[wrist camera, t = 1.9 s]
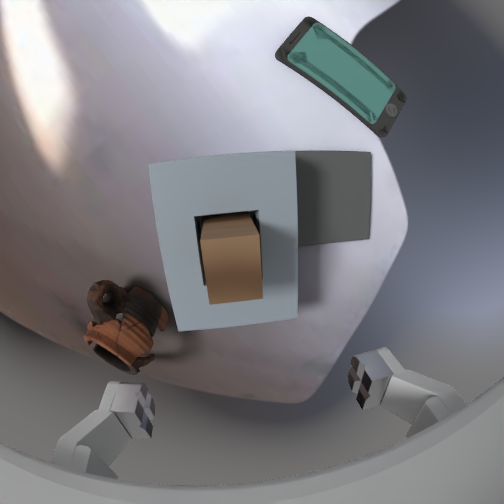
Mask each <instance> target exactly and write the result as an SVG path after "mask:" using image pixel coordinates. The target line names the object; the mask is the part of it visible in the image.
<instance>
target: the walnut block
mask: <svg viewBox="0 0 504 504" xmlns="http://www.w3.org/2000/svg"><path fill="white" fill-rule="evenodd" d="M200 243H201V251H202V258H203V265H204V272H205V279H206V285H207V292H208V298H209V304H210V305H212V304H222V303H231V302H240V301H249V300H257V299H263V288H262V270H261V253H260V236H259V233H258V231H257V229H256V227H255V225H254V223H253V221H252V219H251V218H250V216H249V214H248V212H247V211H241V212H231V213H221V214H211V215H205V217H204V223H203V228H202V233H201V239H200Z"/></svg>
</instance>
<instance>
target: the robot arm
mask: <svg viewBox="0 0 504 504" xmlns="http://www.w3.org/2000/svg"><path fill="white" fill-rule="evenodd" d="M351 365H352V368H351V369H350V370H349V372H348V383H349V386H350V389H351V391H352V392H354V393H356V394H357V398H356V400H357V402H358V403H359V405H360V407H361V409H362V410H365V409H368V408H371V407H374V406H377V405H380V406H382V407H383V408H385V409H387V410H388V411H390V412H392V413H393V414H395V415H396V416H398V417H400V418H401V419H403V420H405V421H407V422H408V423H410V424H412V426H411V427H410V429H409V431H408V432H407V434H406V437H407V438H406V439H404V440H402V441H400V442H398V443H395V444H393V445H390V446H388V447H386V448H383V449H381V450H378V451H376V452H373V453H371V454H368V455H365V456H362V457H360V458H357V459H354V460H351V461H348V462H345V463H341V464H338V465H335V466H331V467H328V468H324V469H320V470H316V471H312V472H308V473H303V474H299V475H295V476H289V477H284V478H278V479H272V480H265V481H258V482H249V483H239V484H226V485H200V486H198V485H197V486H196V485H195V486H194V485H189V486H188V485H164V484H152V483H142V482H133V481H126V480H120V479H118V476H117V474H116V473H114V471H112V470H111V469H110V468H109V466H110V465H111V464H112V462H113V461H114V460H115V459H116V458H117V456H118V455H119V454H120V453H121V452H122V451H123V449H124V448H125V447H126V445H128V443H129V442H130V441H131V440H132V438H140V439H151V437H152V430H153V425H152V423H151V420H152V419H153V418H154V416H155V404H154V401H153V398H152V396H150V395H149V394H148V393H147V392H148V388H147V386H146V384H145V383H138V382H115V381H110V382H109V383H108V384H107V387H106V389H105V392H104V395H103V398H102V401H101V404H100V407H99V409H98V410H95V411H93V412H92V413H91V414H90V415H88V416H87V417H86V418H85V419H83V420H82V421H81V422H80V423H78V424H77V425H76V426H75V427H74V428H72V429H71V430H70V431H68V432H67V433H66V434H65V435H63V436H62V437H61V438H60V439H59V440H58V443H57V446H56V449H55V451H54V454H53V458H52V461H51V462H48V461H45V460H42V459H40V458H37V457H34V456H32V455H29V454H26V453H24V452H22V451H19V450H17V449H15V448H13V447H10V446H8V445H6V444H4V443H2V442H0V504H504V377H503V378H502V379H501V380H499V381H498V382H497V383H495V384H494V385H493V386H492V387H490V388H489V389H488V390H486V391H485V392H484V393H482V394H481V395H479V396H478V397H477V398H475V399H474V400H472V401H471V402H469V403H468V404H466V403H465V402H464V400H463V399H462V398H461V397H460V396H459V394H458V393H457V392H456V391H455V390H454V388H453V387H452V386H450V385H447V384H444V383H441V382H439V381H436V380H434V379H431V378H429V377H426V376H423V375H421V374H418V373H416V372H413V371H411V370H405V369H404V368H403V367H402V366H401V364H400V363H399V362H398V361H397V359H396V358H395V357H394V356H393V354H391V352H390V351H389V350H388V349H387V348H386V347H383V348H380V349H377V350H374V351H370V352H367V353H363V354H359V355H355V356H353V357H352V359H351Z"/></svg>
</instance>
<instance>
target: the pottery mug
mask: <svg viewBox="0 0 504 504" xmlns="http://www.w3.org/2000/svg"><path fill="white" fill-rule="evenodd" d="M105 293H106V295H105V297H104V298H103V296H104V294H105ZM87 302H88V306H89V308H90V311H91V312H92V314H93V320H94V322H93V321H91V322H90V323H89V324H88V326H87V327H88V331H87V333H86V334H85V335H84V337H83V338H84V340H85V342H86V343H87V344H88V345H90V344H91V343H92V341H93V342H95V343H96V346H95V347H94V349H93V351H94V352H95V353H96V354H97V355H98V356H99V357H101V358H102V359H104V360H105V361H106V362H108V363H109V364H111V365H113V366H114V367H116V368H118V369H120V370H122V371H124V372H126V373H129V374H133V375H135V374H137V373H138V372H140V370H139V367H142V366H145V365H147V364H148V363H150V362H151V361H153V360H154V357H155V355H154V354H151V355H150V356H148V357H139V356H142V355H143V354H145V353H147V352H148V351H150V350H151V348H152V346H153V340H152V337H153V336H154V333H155V329H156V327H157V325H158V327H159V328H160V330H161V331H164V330H165V328H166V325H167V320H168V313H167V311H166V309H165V308H164V307H163V306H162V304H161V303H160V302H159V301H158V300H157V298H155V297H154V296H153V295H152V294H151V293H149V292H148V291H146V290H144V289H142V288H140V287H137V286H135V287H134V288H133V289H132V290H131V291H130V292H129V293H126V291H125V289H124V288H122V287H119V286H118V285H116V284H115V283H113V282H112V281H109V280H102V281H98V282H95V283H94V284H93V285H92V287H91V288H90V290H89V292H88V296H87ZM118 313H123V318H122V321H120V320H118V319H116V318H115V317H116V314H118Z"/></svg>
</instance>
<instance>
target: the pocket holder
mask: <svg viewBox="0 0 504 504" xmlns="http://www.w3.org/2000/svg"><path fill="white" fill-rule="evenodd" d="M148 166H149V175H150V183H151V191H152V199H153V206H154V213H155V220H156V226H157V232H158V238H159V244H160V250H161V255H162V260H163V265H164V270H165V275H166V280H167V285H168V290H169V294H170V298H171V303H172V307H173V311H174V316H175V320H176V324H177V328H178V331H190V330H202V329H213V328H223V327H232V326H241V325H249V324H257V323H265V322H272V321H279V320H286V319H293V318H297V316H298V215H297V182H296V159H295V151H271V152H252V153H238V154H226V155H215V156H206V157H197V158H188V159H181V160H173V161H166V162H160V163H153V164H148ZM241 211H247V212H248V214H249V216H250V218H251V219H252V221H253V223H254V225H255V227H256V229H257V231H258V233H259V236H260V253H261V270H262V288H263V299H257V300H249V301H240V302H231V303H222V304H212V305H210V304H209V298H208V292H207V285H206V279H205V272H204V265H203V258H202V251H201V243H200V239H201V233H202V228H203V223H204V217H205V215H211V214H221V213H231V212H241Z"/></svg>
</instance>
